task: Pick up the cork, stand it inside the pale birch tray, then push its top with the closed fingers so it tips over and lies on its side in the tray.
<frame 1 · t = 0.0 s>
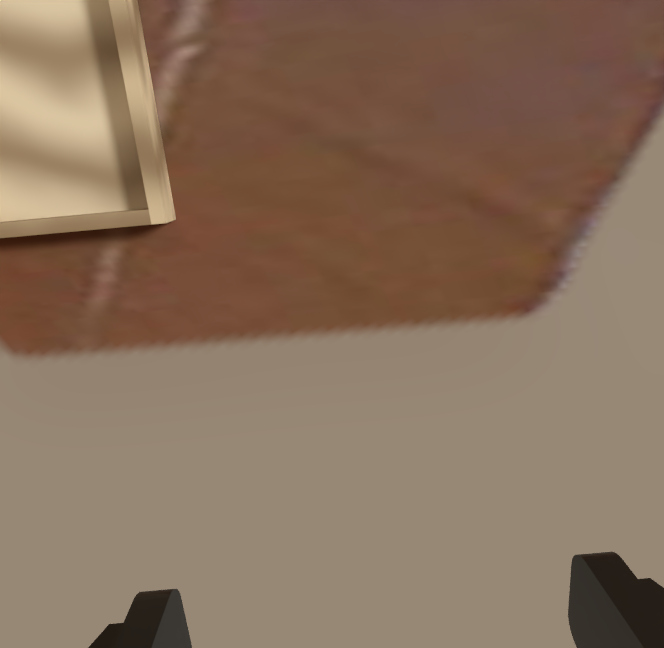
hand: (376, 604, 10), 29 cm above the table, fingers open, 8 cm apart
birch tray: (38, 45, 33), on the table
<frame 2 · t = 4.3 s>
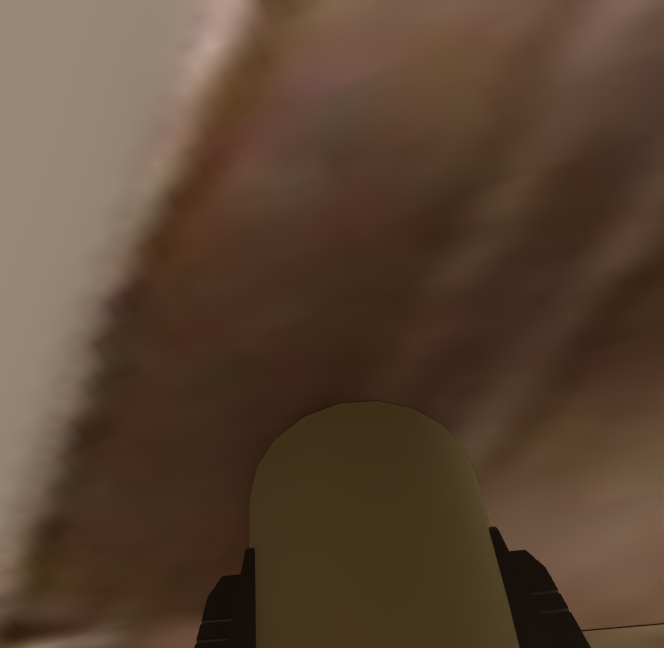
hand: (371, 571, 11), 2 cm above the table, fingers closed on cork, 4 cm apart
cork: (363, 499, 13), on the table, touching gripper
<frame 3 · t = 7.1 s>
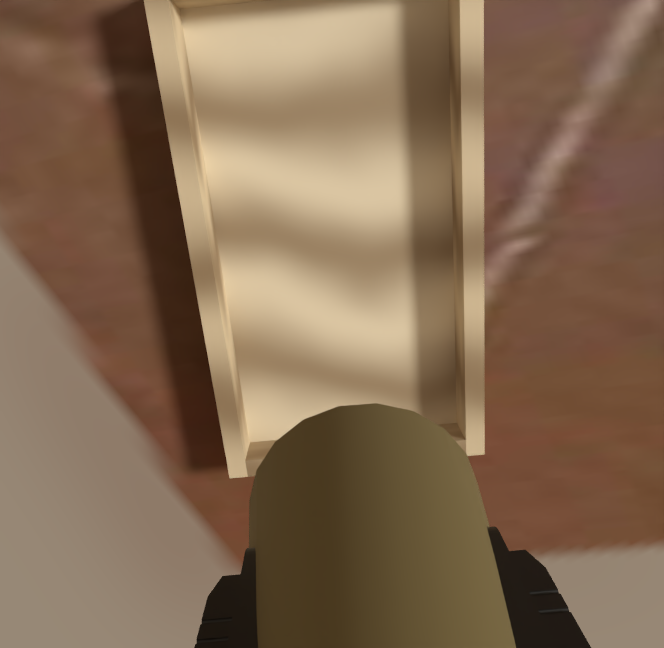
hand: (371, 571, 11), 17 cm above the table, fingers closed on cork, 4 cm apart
birch tray: (335, 240, 26), on the table
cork: (363, 502, 13), point 15 cm above the table, touching gripper
when the fingers open (4 cm above the table, at t = 9.9 s): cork drops 1 cm, resting on birch tray.
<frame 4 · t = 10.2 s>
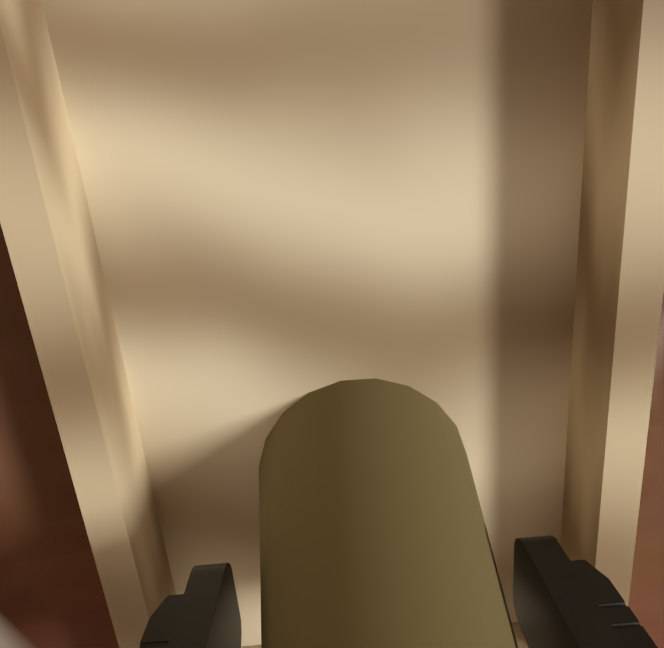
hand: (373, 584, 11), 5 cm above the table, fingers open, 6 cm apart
birch tray: (344, 304, 14), on the table
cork: (362, 470, 15), resting on birch tray
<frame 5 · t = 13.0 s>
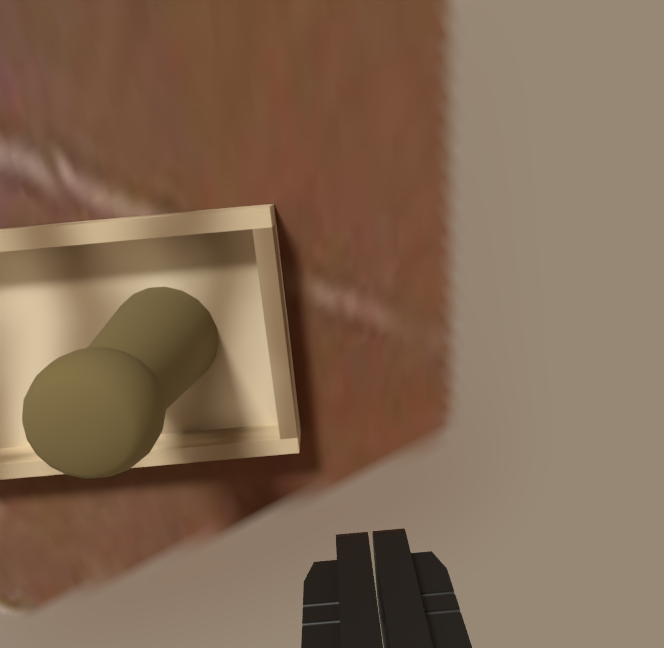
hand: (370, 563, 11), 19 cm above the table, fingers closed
birch tray: (85, 343, 29), on the table
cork: (166, 336, 29), resting on birch tray
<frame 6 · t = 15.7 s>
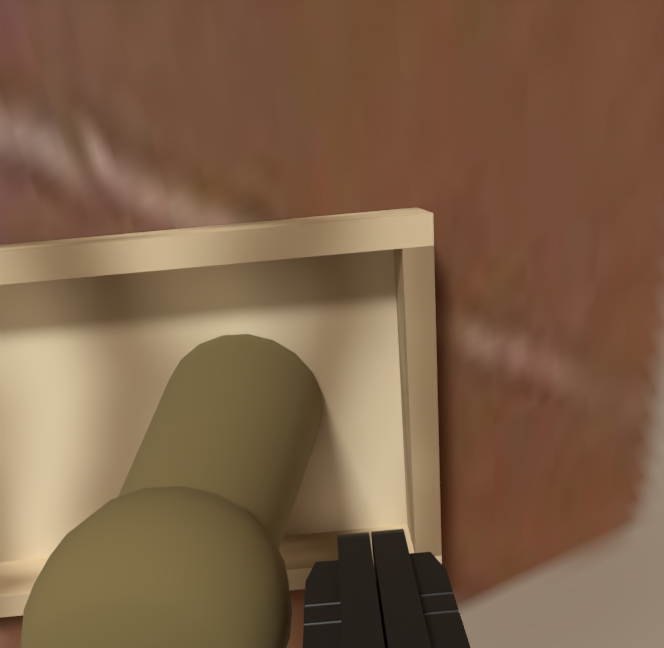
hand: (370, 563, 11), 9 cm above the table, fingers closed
birch tray: (123, 414, 20), on the table
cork: (245, 406, 19), point 1 cm above the table, touching birch tray, gripper
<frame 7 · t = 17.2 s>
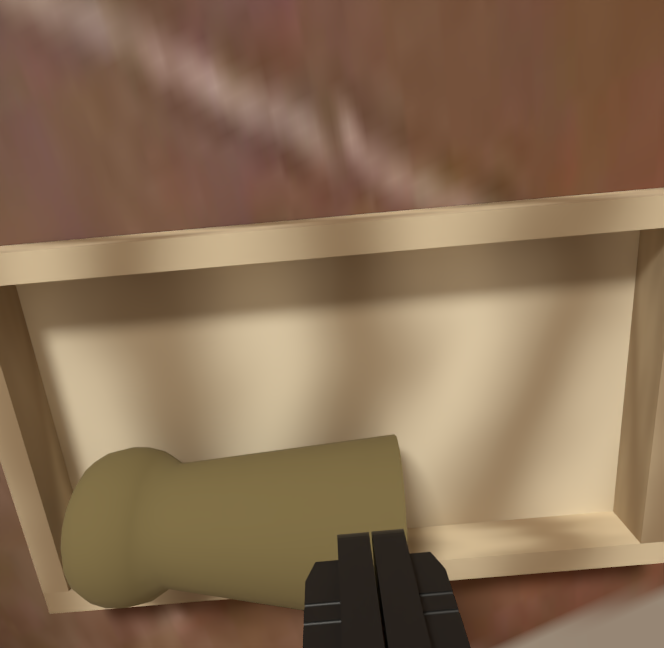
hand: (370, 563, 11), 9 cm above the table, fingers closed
birch tray: (339, 397, 20), on the table
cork: (403, 523, 17), point 4 cm above the table, touching birch tray
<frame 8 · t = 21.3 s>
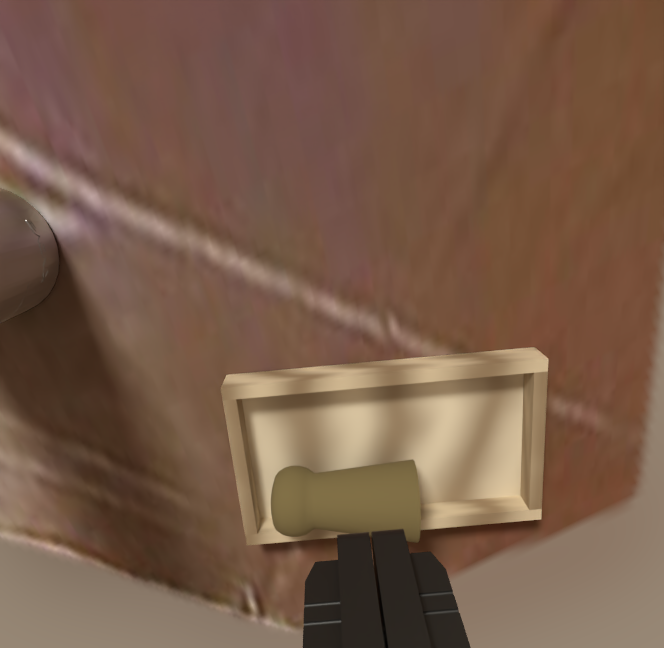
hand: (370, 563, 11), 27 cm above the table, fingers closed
birch tray: (385, 440, 41), on the table
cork: (417, 500, 38), point 4 cm above the table, touching birch tray
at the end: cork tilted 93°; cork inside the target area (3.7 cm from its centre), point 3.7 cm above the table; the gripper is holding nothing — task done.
